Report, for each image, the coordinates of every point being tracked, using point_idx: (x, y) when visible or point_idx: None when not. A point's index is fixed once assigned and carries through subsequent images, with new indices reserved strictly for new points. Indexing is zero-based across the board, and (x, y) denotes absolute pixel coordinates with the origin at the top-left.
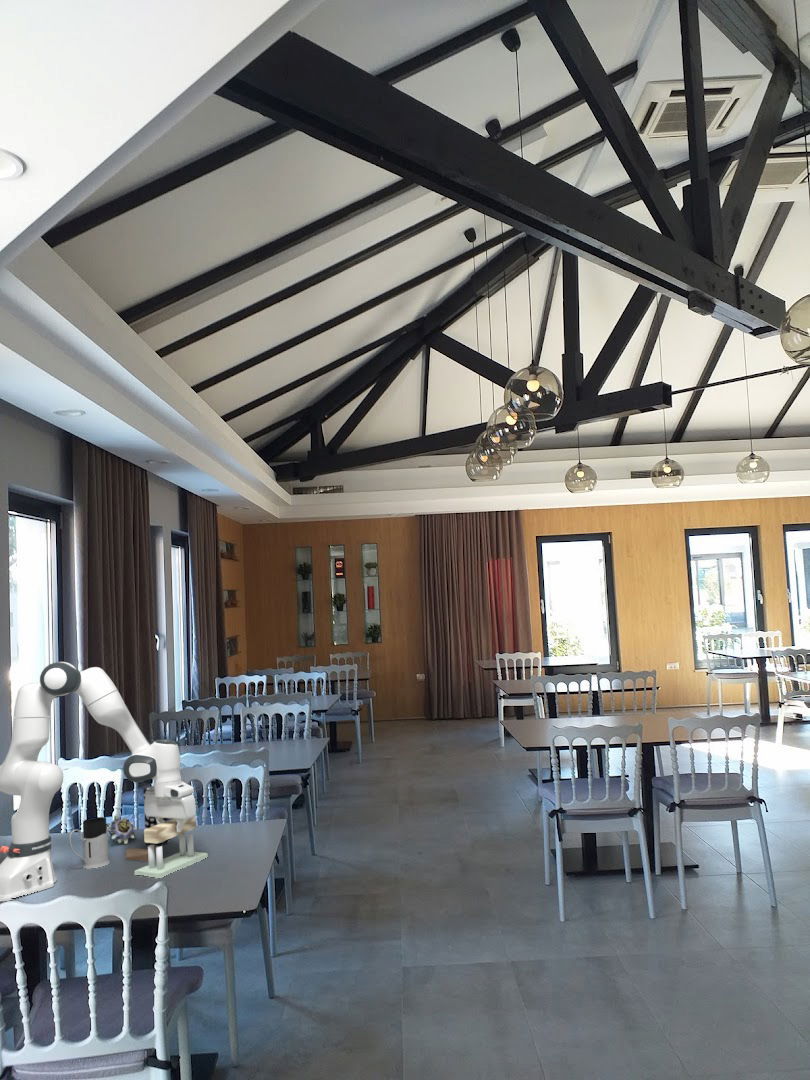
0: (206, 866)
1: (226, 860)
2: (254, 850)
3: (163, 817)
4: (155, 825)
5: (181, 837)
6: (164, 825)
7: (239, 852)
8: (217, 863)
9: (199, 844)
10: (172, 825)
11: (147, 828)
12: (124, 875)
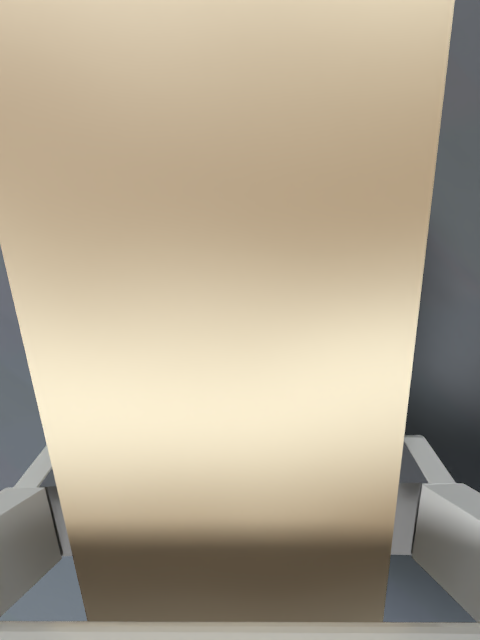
0: (23, 370)
1: (11, 476)
2: (19, 613)
3: (322, 625)
4: (410, 356)
5: None
6: (187, 411)
7: (63, 579)
8: (11, 427)
9: (387, 620)
10: (64, 475)
11: (441, 65)
12: (463, 16)
